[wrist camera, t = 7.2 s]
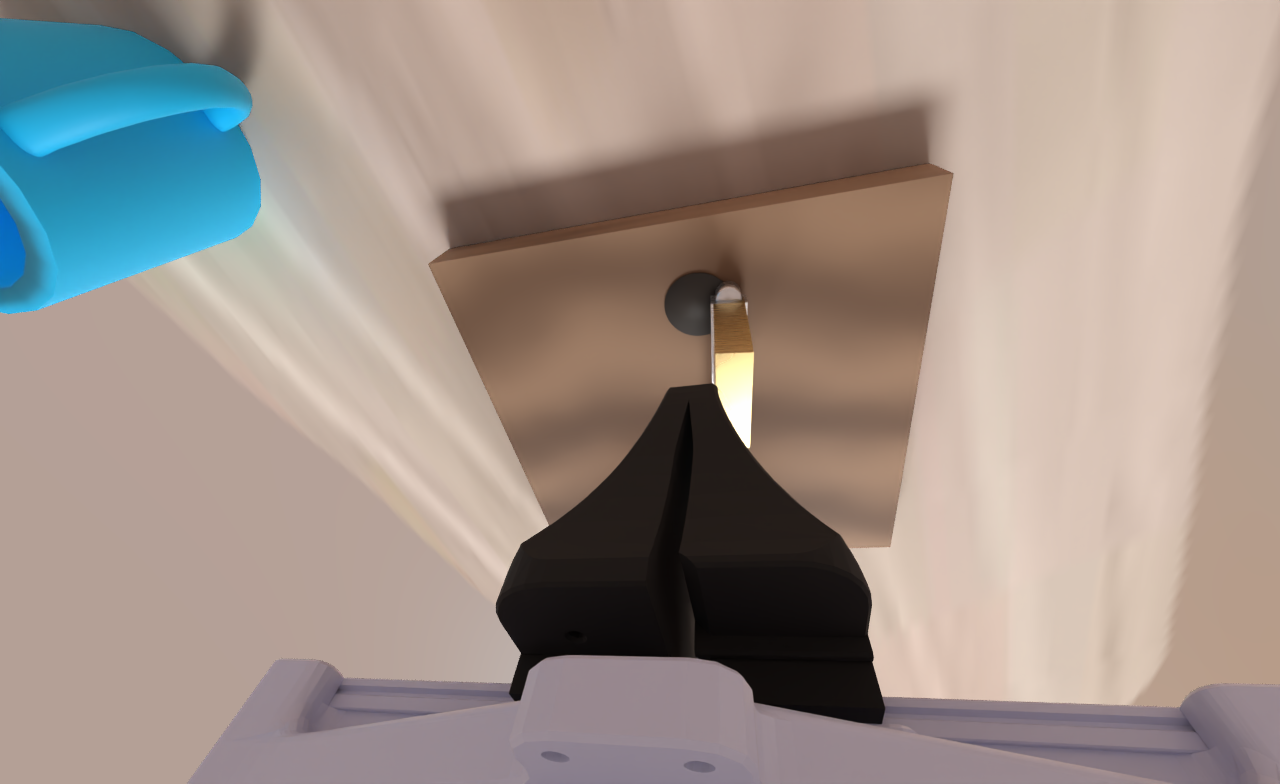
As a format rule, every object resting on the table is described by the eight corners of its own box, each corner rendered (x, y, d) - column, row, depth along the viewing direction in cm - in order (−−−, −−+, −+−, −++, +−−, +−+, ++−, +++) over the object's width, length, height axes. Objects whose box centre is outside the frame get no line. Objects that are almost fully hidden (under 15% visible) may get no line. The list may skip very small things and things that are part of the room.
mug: (179, 259, 23) (-32, 337, 16) (14, 71, 19) (-361, 73, 12) (367, 186, 20) (199, 245, 13) (220, -60, 16) (-135, -154, 9)
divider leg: (757, 536, 27) (766, 616, 23) (695, 535, 27) (694, 612, 24) (774, 278, 18) (794, 337, 14) (682, 283, 18) (677, 341, 15)
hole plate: (879, 519, 28) (890, 548, 26) (570, 530, 32) (562, 556, 30) (929, 163, 17) (954, 173, 15) (449, 248, 21) (426, 264, 19)
